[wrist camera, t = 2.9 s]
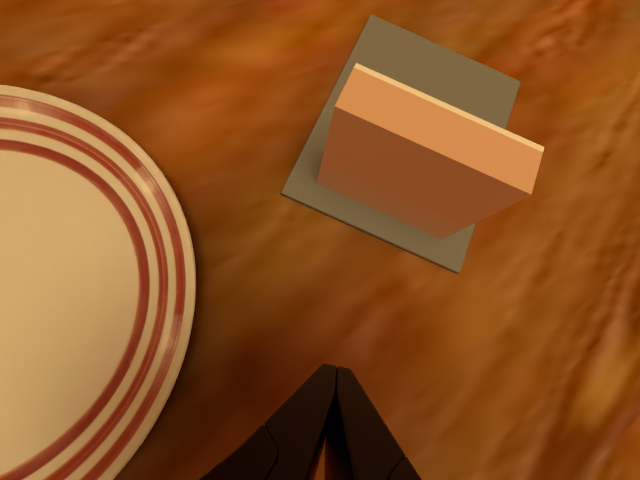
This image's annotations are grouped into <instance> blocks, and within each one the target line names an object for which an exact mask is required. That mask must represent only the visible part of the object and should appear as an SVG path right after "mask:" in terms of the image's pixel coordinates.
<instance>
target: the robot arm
mask: <svg viewBox="0 0 640 480" xmlns="http://www.w3.org/2000/svg"><path fill="white" fill-rule="evenodd" d="M325 437H326V439H325ZM324 441H325V480H422V479H421V478H420V476H419V475H418V474H417V472H416V471H415V469H414V467H413V466H412V464H411V463H410V461H409V460H408V458H407V457H405V454H404V453H403V451H402V449H401V448H400V446H399V445H398V443H397V442H396V440H395V438H394V437H393V435H392V434H391V432H390V431H389V429H388V427H387V426H386V424H385V423H384V421H383V420H382V418H381V416H380V415H379V413H378V412H377V410H376V408H375V407H374V405H373V404H372V402H371V401H370V399H369V397H368V396H367V394H366V393H365V391H364V390H363V388H362V386H361V385H360V383H359V382H358V380H357V379H356V377H355V375H354V374H353V372H352V371H351V370H350V369H348V368H343V367H337V369H336V366H334V365H329V364H322V365H321V366H320V367H319V368H318V369H317V370H316V371H315V372H314V373H313V374H312V375H311V376H310V378H309V379H308V380H307V381H306V382H305V383H304V384H303V385H302V386H301V387H300V388H299V389H298V390H297V391H296V392H295V393H294V394H293V395H292V396H291V397H290V398H289V399H288V400H287V401H286V402H285V403H284V404H283V405H282V406H281V407H280V408H279V409H278V410H277V411H276V412H275V413H274V414H273V415H272V416H271V417H270V418H269V419H268V420H267V421H266V422H265V423H264V424H263V425H261V426H260V427H259V428H258V429H257V430H256V431H255V432H254V434H252V435H251V436H250V437H249V438H248V439H247V440H246V441H245V442H244V443H243V444H242V445H241V446H240V447H238V448H237V449H236V450H235V451H234V452H232V453H231V454H230V455H229V456H227V457H226V458H225V459H224V460H222V461H221V462H220V463H219V464H217V465H216V466H215V467H213V468H212V469H211V470H210V471H208V472H207V473H206V474H204V475H203V476H202V477H200V478H199V479H198V480H315V476H316V472H317V468H318V465H319V461H320V457H321V454H322V450H323V446H324Z"/></svg>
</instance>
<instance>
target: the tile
mask: <svg viewBox="0 0 640 480" xmlns="http://www.w3.org/2000/svg"><path fill="white" fill-rule="evenodd" d="M543 150H544V147H543V146H540V145H538V144H536V143H534V142H531V141H529V140H527V139H525V138H523V137H520V136H518V135H516V134H514V133H511V132H509V131H507V130H505V129H502V128H500V127H498V126H496V125H494V124H491V123H489V122H487V121H485V120H482V119H480V118H478V117H476V116H474V115H471V114H469V113H467V112H465V111H462V110H460V109H458V108H456V107H453V106H451V105H449V104H447V103H445V102H442V101H440V100H438V99H436V98H433V97H431V96H429V95H427V94H425V93H422V92H420V91H418V90H416V89H413V88H411V87H409V86H407V85H405V84H402V83H400V82H398V81H396V80H393V79H391V78H389V77H387V76H384V75H382V74H380V73H378V72H376V71H373V70H371V69H369V68H367V67H364V66H362V65H360V64H358V63H356V64H355V66H354V68H353V70H352V72H351V74H350V76H349V78H348V80H347V82H346V84H345V86H344V88H343V90H342V92H341V94H340V96H339V98H338V100H337V102H336V104H335V107H334V111H333V115H332V120H331V124H330V128H329V132H328V137H327V141H326V145H325V149H324V154H323V158H322V162H321V166H320V171H319V175H318V179H317V184H319V185H321V186H324V187H326V188H328V189H330V190H333V191H335V192H337V193H339V194H341V195H344V196H346V197H348V198H350V199H353V200H355V201H357V202H359V203H361V204H364V205H366V206H368V207H370V208H373V209H375V210H377V211H379V212H381V213H384V214H386V215H388V216H390V217H393V218H395V219H397V220H399V221H402V222H404V223H406V224H408V225H410V226H413V227H415V228H417V229H419V230H422V231H424V232H426V233H428V234H430V235H433V236H435V237H437V238H439V239H444V238H446V237H448V236H450V235H452V234H454V233H456V232H458V231H460V230H462V229H464V228H466V227H468V226H470V225H472V224H474V223H476V222H478V221H480V220H482V219H484V218H486V217H488V216H490V215H492V214H494V213H496V212H498V211H499V210H501V209H503V208H505V207H507V206H509V205H511V204H513V203H515V202H517V201H519V200H521V199H523V198H525V197H527V196H529V195H531V194H532V190H533V186H534V183H535V179H536V176H537V172H538V168H539V165H540V161H541V157H542V154H543Z"/></svg>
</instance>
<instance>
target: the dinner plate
mask: <svg viewBox="0 0 640 480" xmlns="http://www.w3.org/2000/svg"><path fill="white" fill-rule="evenodd" d="M195 300H196V266H195V257H194V250H193V244H192V240H191V235H190V231H189V228H188V225H187V221H186V218H185V216H184V213H183V211H182V208H181V205H180V203H179V201H178V199H177V197H176V195H175V193H174V191H173V189H172V187H171V186H170V184H169V182H168V181H167V179H166V178H165V176H164V174H163V173H162V171H161V170H160V169H159V168H158V166H157V165H156V164H155V162H154V161H153V160H152V159H151V157H150V156H149V155H148V154H147V153H146V152H145V151H144V150H143V149H142V148H141V147H140V146H139V145H138V144H137V143H136V142H135V141H133V140H132V139H131V138H130V137H129V136H128V135H127V134H125V133H124V132H123V131H122V130H120V129H119V128H117V127H116V126H114V125H113V124H111V123H110V122H108V121H107V120H105V119H103V118H102V117H100V116H98V115H96V114H95V113H93V112H91V111H89V110H87V109H85V108H82V107H80V106H78V105H76V104H74V103H71V102H69V101H66V100H63V99H60V98H57V97H54V96H51V95H48V94H45V93H41V92H37V91H32V90H28V89H24V88H19V87H13V86H6V85H0V480H113V479H114V478H115V477H116V476H117V475H118V474H119V472H120V471H121V470H122V469H123V467H124V466H125V465H126V464H127V462H128V461H129V460H130V459H131V457H132V456H133V455H134V453H135V452H136V451H137V449H138V448H139V447H140V445H141V444H142V443H143V441H144V440H145V438H146V437H147V435H148V433H149V432H150V430H151V429H152V427H153V425H154V424H155V422H156V420H157V418H158V416H159V415H160V413H161V411H162V409H163V407H164V405H165V403H166V401H167V400H168V398H169V396H170V393H171V391H172V389H173V386H174V384H175V381H176V379H177V377H178V374H179V371H180V369H181V366H182V363H183V360H184V357H185V354H186V350H187V346H188V343H189V338H190V334H191V329H192V323H193V318H194V310H195Z"/></svg>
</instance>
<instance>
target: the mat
mask: <svg viewBox="0 0 640 480" xmlns="http://www.w3.org/2000/svg"><path fill="white" fill-rule="evenodd" d="M356 63H358V64H360V65H362V66H364V67H367V68H369V69H371V70H373V71H376V72H378V73H380V74H382V75H384V76H387V77H389V78H391V79H393V80H396V81H398V82H400V83H402V84H405V85H407V86H409V87H411V88H413V89H416V90H418V91H420V92H422V93H425V94H427V95H429V96H431V97H433V98H436V99H438V100H440V101H442V102H445V103H447V104H449V105H451V106H453V107H456V108H458V109H460V110H462V111H465V112H467V113H469V114H471V115H474V116H476V117H478V118H480V119H482V120H485V121H487V122H489V123H491V124H494V125H496V126H498V127H500V128H502V129H506V126H507V123H508V120H509V117H510V113H511V110H512V107H513V104H514V101H515V98H516V95H517V91H518V88H519V85H520V82H521V81H518V80H516V79H514V78H512V77H510V76H507V75H505V74H503V73H501V72H498V71H496V70H494V69H492V68H490V67H487V66H485V65H483V64H481V63H478V62H476V61H474V60H472V59H469V58H467V57H465V56H463V55H461V54H458V53H456V52H454V51H452V50H449V49H447V48H445V47H443V46H441V45H438V44H436V43H434V42H432V41H429V40H427V39H425V38H423V37H420V36H418V35H416V34H414V33H412V32H409V31H407V30H405V29H403V28H400V27H398V26H396V25H394V24H392V23H389V22H387V21H385V20H383V19H380V18H378V17H376V16H374V15H370V17H369V19H368V21H367V23H366V25H365V27H364V29H363V31H362V33H361V35H360V37H359V39H358V41H357V43H356V45H355V47H354V49H353V51H352V53H351V55H350V57H349V59H348V61H347V63H346V65H345V67H344V69H343V71H342V73H341V75H340V77H339V79H338V81H337V83H336V85H335V87H334V89H333V91H332V93H331V95H330V97H329V99H328V101H327V103H326V105H325V106H324V108H323V110H322V112H321V114H320V116H319V118H318V120H317V122H316V124H315V126H314V128H313V130H312V132H311V134H310V136H309V138H308V140H307V142H306V144H305V146H304V148H303V150H302V152H301V154H300V156H299V158H298V160H297V162H296V164H295V166H294V168H293V170H292V172H291V174H290V176H289V178H288V180H287V182H286V184H285V186H284V188H283V190H282V192H281V195H283V196H285V197H287V198H289V199H292V200H294V201H296V202H298V203H301V204H303V205H305V206H307V207H309V208H312V209H314V210H316V211H318V212H321V213H323V214H325V215H327V216H329V217H332V218H334V219H336V220H338V221H341V222H343V223H345V224H347V225H350V226H352V227H354V228H356V229H358V230H361V231H363V232H365V233H367V234H370V235H372V236H374V237H376V238H378V239H381V240H383V241H385V242H387V243H390V244H392V245H394V246H396V247H398V248H401V249H403V250H405V251H407V252H410V253H412V254H414V255H416V256H419V257H421V258H423V259H425V260H427V261H430V262H432V263H434V264H436V265H439V266H441V267H443V268H445V269H447V270H450V271H452V272H454V273H456V274H458V273H460V271H461V267H462V264H463V261H464V258H465V255H466V252H467V249H468V245H469V242H470V239H471V236H472V233H473V230H474V227H475V223H474V224H472V225H470V226H468V227H466V228H464V229H462V230H460V231H458V232H456V233H454V234H452V235H450V236H448V237H446V238H444V239H439V238H437V237H435V236H433V235H430V234H428V233H426V232H424V231H422V230H419V229H417V228H415V227H413V226H410V225H408V224H406V223H404V222H402V221H399V220H397V219H395V218H393V217H390V216H388V215H386V214H384V213H381V212H379V211H377V210H375V209H373V208H370V207H368V206H366V205H364V204H361V203H359V202H357V201H355V200H353V199H350V198H348V197H346V196H344V195H341V194H339V193H337V192H335V191H333V190H330V189H328V188H326V187H324V186H321V185H319V184H317V179H318V175H319V171H320V166H321V162H322V158H323V154H324V149H325V145H326V141H327V137H328V132H329V128H330V124H331V120H332V115H333V111H334V107H335V104H336V102H337V100H338V98H339V96H340V94H341V92H342V90H343V88H344V86H345V84H346V82H347V80H348V78H349V76H350V74H351V72H352V70H353V68H354V66H355V64H356Z"/></svg>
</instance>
